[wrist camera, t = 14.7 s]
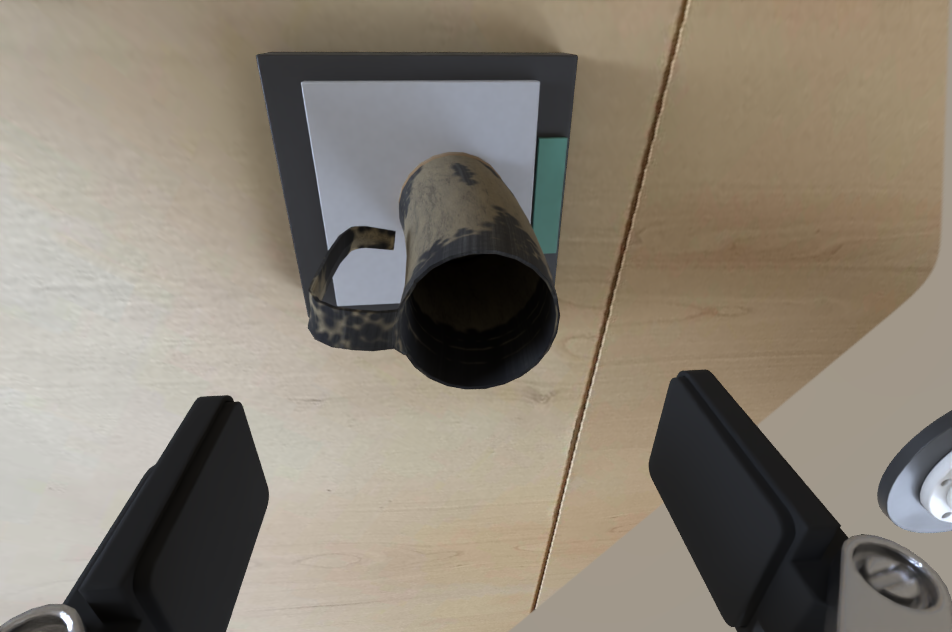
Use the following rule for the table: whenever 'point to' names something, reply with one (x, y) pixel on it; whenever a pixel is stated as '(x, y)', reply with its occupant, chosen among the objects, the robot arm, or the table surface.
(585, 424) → the table surface
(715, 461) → the robot arm
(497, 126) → the scale
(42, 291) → the table surface
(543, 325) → the mug
